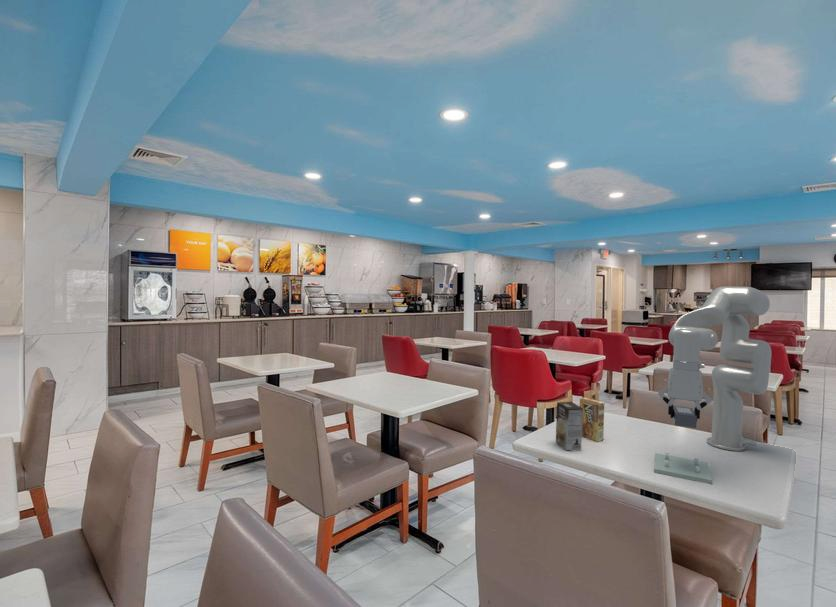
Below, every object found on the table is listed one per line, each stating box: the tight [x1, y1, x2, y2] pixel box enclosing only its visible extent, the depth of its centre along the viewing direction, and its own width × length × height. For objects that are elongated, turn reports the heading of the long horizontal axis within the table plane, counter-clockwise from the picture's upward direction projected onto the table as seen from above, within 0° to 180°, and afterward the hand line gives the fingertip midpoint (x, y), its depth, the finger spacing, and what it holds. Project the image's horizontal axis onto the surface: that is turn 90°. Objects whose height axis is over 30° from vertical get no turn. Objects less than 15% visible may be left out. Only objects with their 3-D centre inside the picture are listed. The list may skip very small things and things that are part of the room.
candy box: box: [579, 397, 605, 442], centre depth 176 cm, size 9×4×15 cm, turn 33°
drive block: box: [671, 405, 698, 429], centre depth 147 cm, size 6×10×4 cm, turn 156°
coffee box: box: [555, 401, 583, 451], centre depth 166 cm, size 9×6×16 cm
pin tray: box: [653, 452, 713, 485], centre depth 147 cm, size 16×16×3 cm
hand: (683, 418), depth 147 cm, fingers closed on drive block, 6 cm apart
